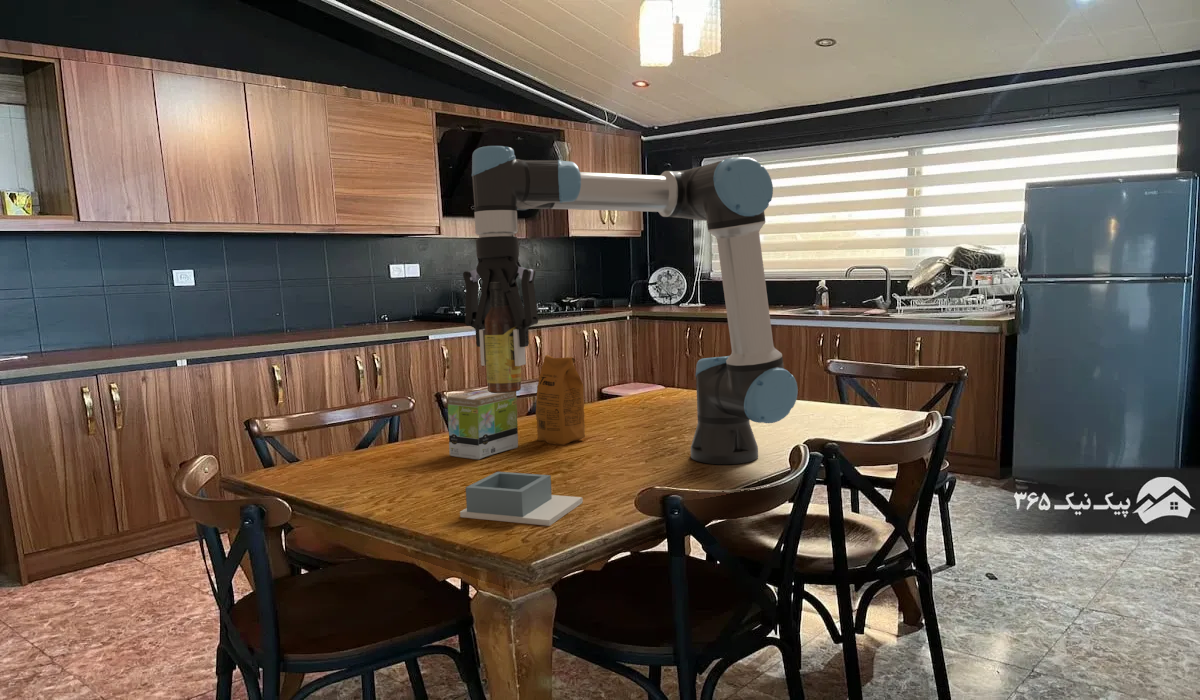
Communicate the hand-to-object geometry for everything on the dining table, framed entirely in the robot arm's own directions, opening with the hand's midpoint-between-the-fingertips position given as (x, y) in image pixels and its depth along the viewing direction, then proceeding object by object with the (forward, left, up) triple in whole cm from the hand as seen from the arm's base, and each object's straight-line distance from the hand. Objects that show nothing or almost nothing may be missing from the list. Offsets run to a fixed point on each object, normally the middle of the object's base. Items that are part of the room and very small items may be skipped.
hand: (503, 364), depth 143 cm
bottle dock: (-2, -1, -27) cm, 27 cm away
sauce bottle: (0, 0, -5) cm, 5 cm away
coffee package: (+17, -57, -27) cm, 65 cm away
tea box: (+30, -41, -27) cm, 58 cm away
